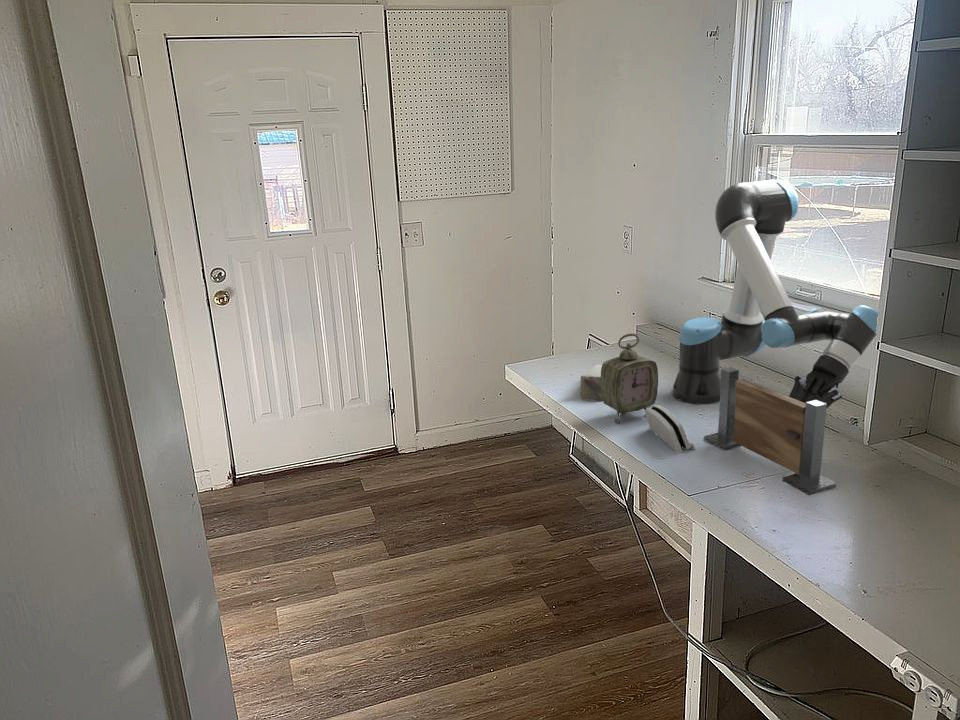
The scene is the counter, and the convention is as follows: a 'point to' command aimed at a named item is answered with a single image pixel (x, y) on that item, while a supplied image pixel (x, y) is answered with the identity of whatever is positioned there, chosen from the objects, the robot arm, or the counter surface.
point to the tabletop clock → (629, 381)
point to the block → (591, 384)
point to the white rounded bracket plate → (668, 428)
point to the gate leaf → (769, 424)
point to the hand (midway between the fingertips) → (779, 440)
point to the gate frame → (811, 444)
